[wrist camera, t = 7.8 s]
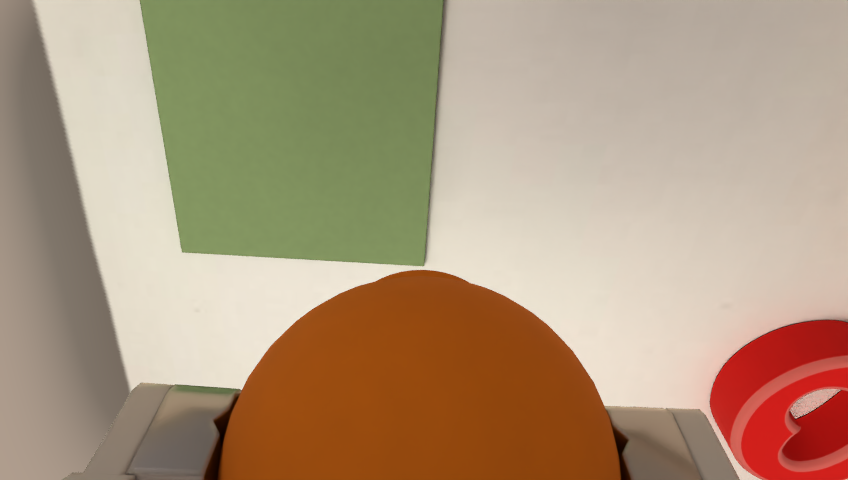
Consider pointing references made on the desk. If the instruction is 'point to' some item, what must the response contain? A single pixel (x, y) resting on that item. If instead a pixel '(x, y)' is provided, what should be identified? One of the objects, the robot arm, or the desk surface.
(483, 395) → the orange
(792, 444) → the decorative ornament
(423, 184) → the felt mat
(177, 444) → the robot arm
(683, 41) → the desk surface
